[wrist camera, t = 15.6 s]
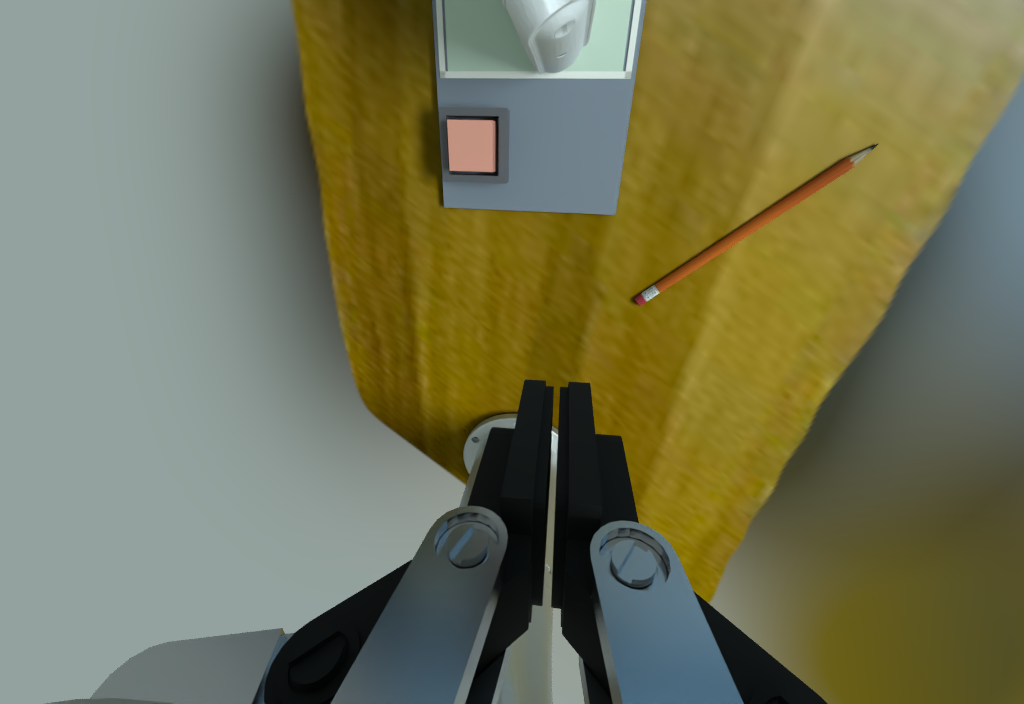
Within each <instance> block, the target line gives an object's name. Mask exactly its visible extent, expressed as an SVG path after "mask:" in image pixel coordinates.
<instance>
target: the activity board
mask: <svg viewBox="0 0 1024 704" xmlns="http://www.w3.org/2000/svg"><path fill="white" fill-rule="evenodd" d="M645 6H646V0H597V1H596V7H595V13H594V18H593V24H592V29H591V34H590V39H589V42H588V44H587V45H586V46H584V47H583V48H582V50H581V53H580V54H579V56H578V58H577V59H576V61H575V62H574V63H573V64H572V65H571V66H570V67H569V68H567V69H565V70H563V71H561V72H557V73H548V72H544V73H542V74H539V73H538V72H537V70H536V69H535V67H534V66H533V64H532V62H531V61H530V59H529V57H528V55H527V53H526V51H525V49H524V46H523V45H522V44H521V40H520V38H519V35H518V33H517V31H516V29H515V27H514V24H513V22H512V20H511V18H510V16H509V14H508V12H507V10H506V8H505V7H504V6H503V3H502V0H432V10H433V27H434V44H435V61H436V78H437V95H438V112H439V129H440V146H441V163H442V180H443V197H444V207H446V208H469V209H492V210H515V211H539V212H562V213H585V214H608V215H616V208H617V201H618V194H619V187H620V180H621V173H622V167H623V160H624V153H625V146H626V139H627V132H628V125H629V118H630V111H631V104H632V97H633V90H634V83H635V76H636V69H637V62H638V55H639V48H640V41H641V34H642V27H643V20H644V13H645ZM447 120H493V121H495V122H498V171H495V172H474V171H450V168H449V148H448V128H447Z"/></svg>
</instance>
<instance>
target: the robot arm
mask: <svg viewBox="0 0 1024 704" xmlns="http://www.w3.org/2000/svg"><path fill="white" fill-rule="evenodd" d="M553 389H554V387H551V386H546V381H541V380H525V381H524V386H523V391H522V395H521V400H520V405H519V410H518V414H502V415H496V416H493V417H491V418H488V419H486V420H484V421H482V422H481V423H479V424H478V425H477V426H476V427H475V428H474V429H473V430H472V431H471V433H470V434H469V436H468V438H467V441H466V443H465V446H464V451H463V457H464V463H465V466H466V469H467V471H468V473H469V474H470V475H469V478H468V481H467V484H466V488H465V491H464V494H463V497H462V500H461V503H460V506H459V508H456V509H454V510H451V511H449V512H447V513H445V514H444V515H443V516H441V517H440V518H439V519H437V521H436V522H435V523H434V524H433V526H432V527H431V528H430V530H429V532H428V533H427V535H426V537H425V539H424V540H423V542H422V544H421V546H420V547H419V549H418V551H417V553H416V555H415V556H414V558H413V560H410V561H409V562H407V563H406V564H404V565H402V566H401V567H399V568H397V569H396V570H394V571H393V572H391V573H389V574H388V575H386V576H384V577H383V578H381V579H379V580H377V581H376V582H374V583H373V584H371V585H369V586H368V587H366V588H364V589H363V590H361V591H360V592H358V593H356V594H354V595H353V596H351V597H349V598H348V599H346V600H345V601H343V602H341V603H340V604H338V605H336V606H335V607H333V608H331V609H330V610H328V611H326V612H325V613H323V614H321V615H320V616H318V617H317V618H315V619H313V620H312V621H310V622H309V623H307V624H306V625H305V626H303V627H302V628H301V629H299V630H298V631H297V632H295V633H291V634H285V633H284V631H283V629H282V628H280V629H272V630H263V631H256V632H247V633H240V634H231V635H222V636H214V637H206V638H198V639H190V640H181V641H173V642H167V643H163V644H160V645H156V646H153V647H150V648H148V649H146V650H144V651H143V652H141V653H139V654H137V655H136V656H134V657H132V658H130V659H129V660H128V661H126V662H125V663H124V664H123V665H122V666H120V667H119V668H118V669H117V670H115V671H114V672H113V673H112V674H110V676H109V677H108V678H107V679H106V680H105V681H104V683H103V684H102V685H101V686H100V687H99V688H98V689H97V690H96V692H95V693H94V694H93V695H92V697H91V698H90V699H75V700H68V701H60V702H53V703H46V704H553V702H552V626H553V625H552V624H553V608H560V609H561V627H562V634H563V636H564V637H565V638H566V640H568V642H569V643H570V645H571V646H572V647H573V648H574V649H575V651H576V652H577V653H578V654H579V667H580V675H581V682H582V688H583V695H584V702H585V704H827V703H826V702H825V701H824V700H823V699H822V698H821V697H820V696H819V695H818V694H817V693H815V692H814V691H813V690H812V689H811V688H809V687H808V686H807V685H806V684H804V683H803V682H802V681H801V680H800V679H799V678H797V677H796V676H795V675H794V674H793V673H791V672H790V671H789V670H788V669H787V668H785V667H784V666H783V665H782V664H780V663H779V662H778V661H777V660H776V659H774V658H773V657H772V656H771V655H770V654H768V653H767V652H766V651H765V650H764V649H762V648H761V647H760V646H759V645H758V644H756V643H755V642H754V641H753V640H752V639H750V638H749V637H748V636H747V635H746V634H744V633H743V632H742V631H741V630H740V629H738V628H737V627H736V626H735V625H734V624H732V623H731V622H730V621H729V620H728V619H726V618H725V617H724V616H723V615H721V614H720V613H719V612H718V611H716V610H715V609H714V608H713V607H712V606H711V605H709V604H708V603H707V602H706V601H705V600H703V599H702V598H701V597H700V596H699V595H697V594H696V593H695V592H694V591H693V589H692V587H691V585H690V583H689V580H688V578H687V576H686V574H685V571H684V569H683V567H682V565H681V562H680V560H679V558H678V556H677V554H676V553H675V551H674V549H673V548H672V546H671V544H670V543H669V542H668V541H667V540H666V539H665V538H664V537H663V536H662V535H661V534H659V533H658V532H656V531H655V530H653V529H651V528H650V527H648V526H645V525H643V524H640V523H639V522H638V517H637V512H636V507H635V502H634V497H633V492H632V487H631V482H630V477H629V472H628V467H627V462H626V457H625V452H624V447H623V442H622V438H621V436H615V435H601V434H595V427H594V417H593V407H592V397H591V387H590V383H579V382H569V384H568V387H560V404H559V426H558V430H557V429H556V428H555V427H553V426H552V417H553Z"/></svg>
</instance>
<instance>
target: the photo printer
mask: <svg viewBox="0 0 1024 704" xmlns="http://www.w3.org/2000/svg"><path fill="white" fill-rule="evenodd" d="M596 1H597V0H502V3H503V6H504V7H505V8H506V10H507V12H508V14H509V16H510V18H511V20H512V22H513V24H514V27H515V29H516V31H517V33H518V35H519V38H520V40H521V44H522V45H523V46H524V49H525V51H526V53H527V55H528V57H529V59H530V61H531V62H532V64H533V66H534V67H535V69H536V70H537V72H538V73H539V74H542V73H544V72H548V73H557V72H561V71H563V70H565V69H567V68H569V67H570V66H571V65H572V64H573V63H574V62H575V61H576V59H577V58H578V56H579V54H580V53H581V50H582V48H583V47H584V46H586V45H587V44H588V42H589V39H590V34H591V29H592V24H593V18H594V13H595V7H596Z"/></svg>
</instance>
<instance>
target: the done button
mask: <svg viewBox="0 0 1024 704" xmlns="http://www.w3.org/2000/svg"><path fill="white" fill-rule="evenodd" d="M447 128H448V148H449V168H450V171H474V172H495V171H498V122H495V121H493V120H447Z"/></svg>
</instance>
